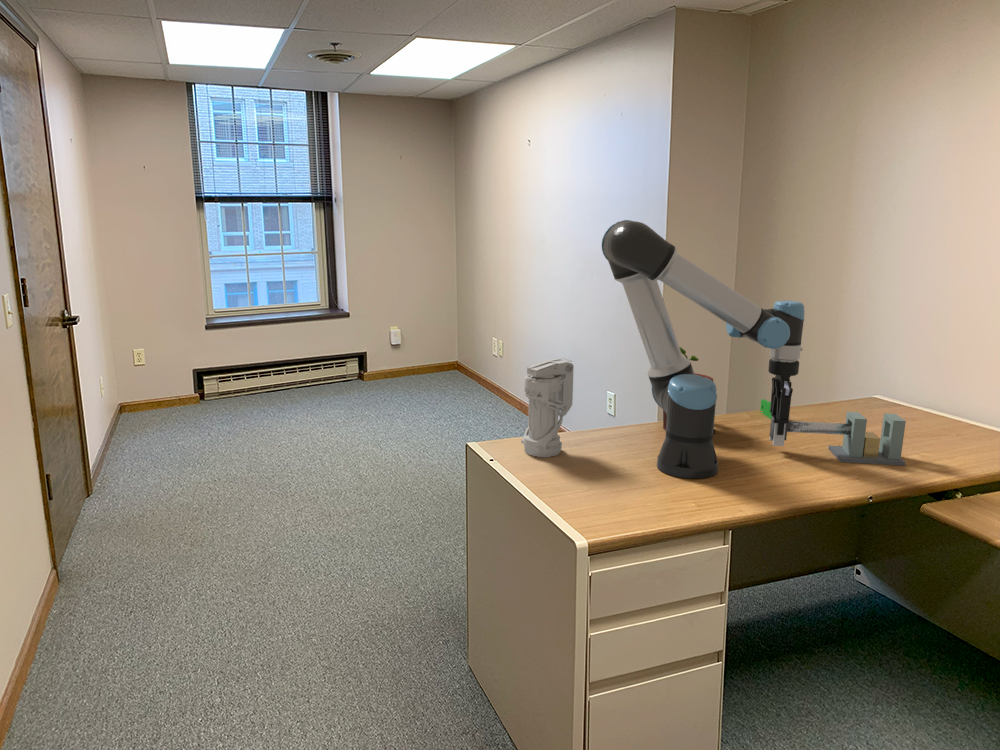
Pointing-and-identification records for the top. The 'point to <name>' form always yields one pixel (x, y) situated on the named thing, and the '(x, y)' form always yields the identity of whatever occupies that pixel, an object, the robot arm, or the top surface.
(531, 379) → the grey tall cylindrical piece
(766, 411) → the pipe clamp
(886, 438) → the bearing stand
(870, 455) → the spacer
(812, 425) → the shaft
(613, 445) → the top surface
